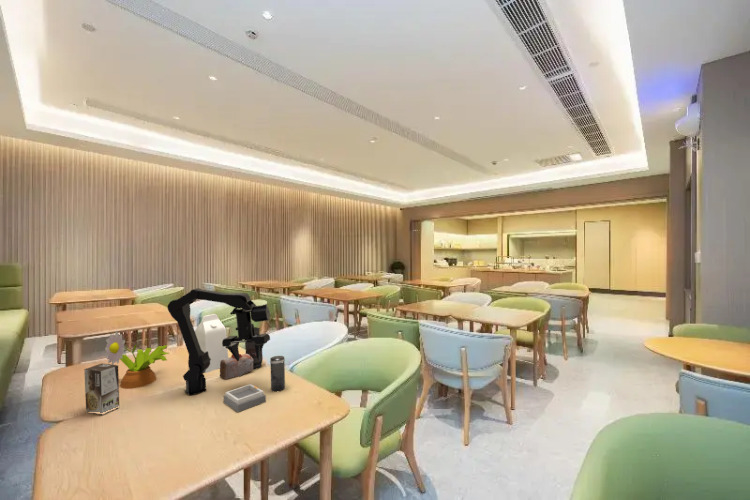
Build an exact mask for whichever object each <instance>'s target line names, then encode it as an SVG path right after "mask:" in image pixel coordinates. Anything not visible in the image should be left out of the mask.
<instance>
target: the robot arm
mask: <svg viewBox="0 0 750 500" xmlns="http://www.w3.org/2000/svg"><path fill="white" fill-rule="evenodd" d="M197 300H203V301H208V302H215V303H221V304H226V305H227V306H230V307H232V308H233V309H232V311H231V312H230V315H231V316H232V315H235V319H236V326H237V327H235V331H237V335H238V336H237V335H231V336H230V335H229V336H227V338H225V339H223V341H222V346H226V348H228V352H230V353H231V355H232V354H233V356H234V357H235V359H236V360H237V361H239V354H240V352H239V351H240V350H239V344H240V343H245V342H255V343H256V345H255V350H256V356H257V359H258V360H259V359H260V356H261V352H262V353H263V348H264V346H265V345H266V344H267V343H268V342H269V341H271V335H269V333H260V331H261V330H260V328H261V327H257V326H256V327H255V325H254V323H257V322H259V323H260V322H269V320H270V319H271V311H270V309H269V307H268V304H267V303H266V304H261V305H256V303H255V302H254V301H253V300H252V299H251V297H250V295H249V294H248V293H247V292H231V293H228V292H227V293H226V292H220V291H215V290H208V289H202V288H199V287H198V288H193V289H191V290H190V291H189V292H187V293H185V294H184V295H182V296H181V297H179V298H177V299H174V300H170V301H169V302H168V304H167V306H166V307H167V310H168V312H169V314H170V316H171V317H172V319H174V321H176V323H177V325H178V328H179V330H180V333H181V336H182V339H183V342H184V344H185V348H186V350H187V354H188V360H187V364H188V370H187V371H186V372H185V373H184V374H183V375H182V378H183V380H184V381H185V390H184V392H185V394H187V395H188V396H194V395H197V394H200V393H202V392H203V391H204V392H207V381H206V380H207V378H206V377H205V374H206V373H205V371H206V369H207V368H208V367H209V365H210V360H211V359H210V358H209V354H208V351H207V352H205V353H204V352H203V351H202V350H201V348H200V345H199V342H198V339H197V336H196V334H195V328H194V326H193V323H192V320H191V304H193V303H194V302H195V301H197ZM252 321H253V322H254V323H252ZM256 335H258V336H257V337H253V336H256ZM248 339H249V340H248Z"/></svg>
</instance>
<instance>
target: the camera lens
mask: <svg viewBox="0 0 750 500" xmlns="http://www.w3.org/2000/svg"><path fill="white" fill-rule="evenodd" d="M257 336H258V335H256V336H253V337H257ZM248 340H249V339H248ZM255 345H256V343H255V342H244V349H245V354H249V355H250V356H251V357H252V358H253V369H252V370H257V369H256V368H258V369H260V368H261V367H262V364H263V359H264V357H263V351H262V352H261V356H260V359H259V360H258V359H257V356H256V350H255Z"/></svg>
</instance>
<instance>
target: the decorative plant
mask: <svg viewBox="0 0 750 500" xmlns="http://www.w3.org/2000/svg"><path fill="white" fill-rule="evenodd" d="M114 334H115V335H114ZM114 334H111V333H110V334H109V337H108V338H106V339H105V342H106V345H105V346H106V347H105V348H104V351H105V353H106V354H105V357H106V359H107V360H108V362H107V364H110V363H111V365H115V364H116V365H118V364H119V363H120V362H122V363H123V365H125V366H126V367H127V370H126V371H125V374H124V375H123V377H122V378H121V382H120V384H119V388H121V389H125V390H129V389H137V388H142V387H146V386H149V385H151V384H153V383H155V382H156V381H157V377H156V373H155V372H154V370H152V369H151V366H150V365H151V364H154V363H156V361H158V360H161V361H163V362H165V361H168V359H167V357H166V356H165V355H169V354H170V352H165V351H164V350H165V349H166V348H168V345H167V344H166V345H165V344H164V345H163V346H161V345H158V346H157V347H155V349H154V350H153V351H152V349H153V348H152V347H146V348H145V349H144V350H143V349H142V348H141V349H139V348H138V349H137V344H134V346H133V347H132V348H133V349H132V350H130V349H128V347H125V343H126V339H123V333H120V334H119V333H118V330H116V331H115V333H114ZM125 350H127V351H128V352H130V353H131V354H132V356H133V358H134V361H133V360H132V359H130V357H128V355H127V354H123V353H124V351H125ZM136 350H137V351H136ZM135 351H136V352H137V353H136V355H135ZM151 351H152V352H151Z"/></svg>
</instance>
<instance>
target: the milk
mask: <svg viewBox="0 0 750 500" xmlns="http://www.w3.org/2000/svg"><path fill="white" fill-rule="evenodd" d="M201 319H202V320H201V322H200V323H199V324H198V326H196V328H195V329H194V331H195V334H196V336H197V339H198V342H199V345H200V348H201V350H202V351H203V352H204V353H205V352H207V351H208V354H209V358H210V359H211V360H210V365H209V367H208V368H207V369H206V371H205V373H204V374H206V373H210V372H213V371H216V370H220V362H221V360H222V359H227V358H229V350H228V348H226V346H222V341H223V339H225V338H227V337H228V336H227V329H226V327H225V325H224V324H223V323H222V321H221V320H220V318H219V316H218V315H217V313H212V314H207V315H203V316H202V318H201Z"/></svg>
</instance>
